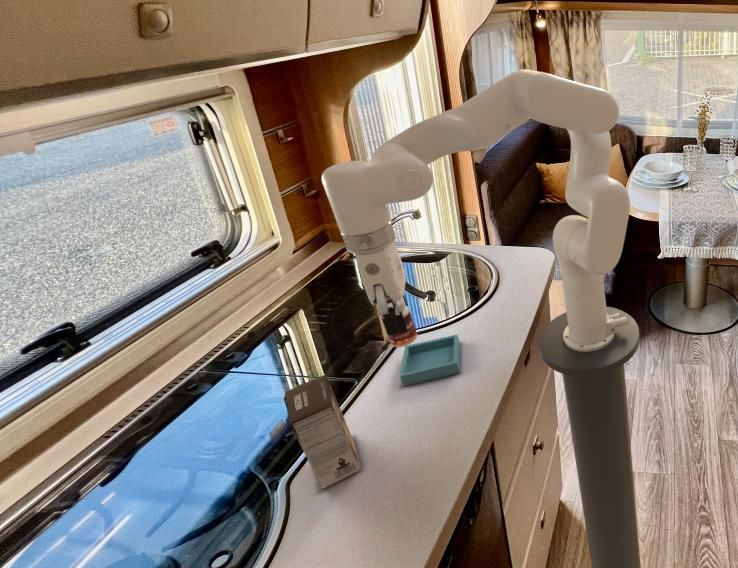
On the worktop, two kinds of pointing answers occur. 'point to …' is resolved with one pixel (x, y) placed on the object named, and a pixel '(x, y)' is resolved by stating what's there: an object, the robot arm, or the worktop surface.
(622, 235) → the robot arm
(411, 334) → the pill bottle
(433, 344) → the medicine tray
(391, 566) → the worktop surface
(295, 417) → the coffee box
